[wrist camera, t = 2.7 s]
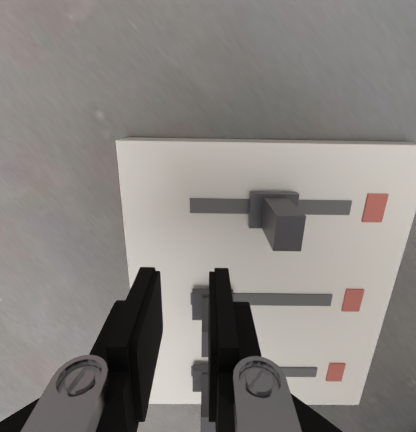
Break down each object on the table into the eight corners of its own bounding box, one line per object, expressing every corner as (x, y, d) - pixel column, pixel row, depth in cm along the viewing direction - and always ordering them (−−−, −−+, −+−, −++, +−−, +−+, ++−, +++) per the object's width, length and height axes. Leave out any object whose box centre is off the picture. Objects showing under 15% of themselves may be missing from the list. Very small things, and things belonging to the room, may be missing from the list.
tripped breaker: (296, 191, 21) (321, 213, 17) (291, 224, 22) (314, 254, 18) (249, 191, 21) (262, 212, 17) (247, 224, 22) (258, 253, 18)
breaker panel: (407, 141, 23) (437, 145, 20) (345, 380, 33) (359, 406, 30) (126, 137, 23) (114, 140, 20) (147, 378, 33) (140, 405, 30)
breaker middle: (233, 288, 24) (239, 330, 20) (231, 314, 25) (237, 359, 21) (192, 288, 24) (189, 329, 20) (192, 314, 25) (189, 359, 21)
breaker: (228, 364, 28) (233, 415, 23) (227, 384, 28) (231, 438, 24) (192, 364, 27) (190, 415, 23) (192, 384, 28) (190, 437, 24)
